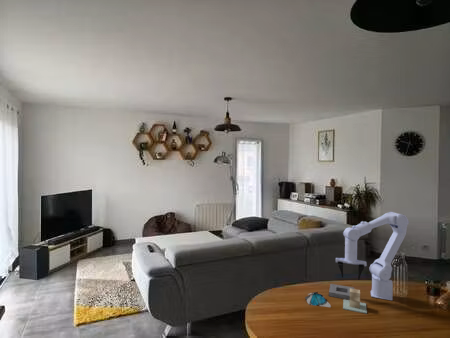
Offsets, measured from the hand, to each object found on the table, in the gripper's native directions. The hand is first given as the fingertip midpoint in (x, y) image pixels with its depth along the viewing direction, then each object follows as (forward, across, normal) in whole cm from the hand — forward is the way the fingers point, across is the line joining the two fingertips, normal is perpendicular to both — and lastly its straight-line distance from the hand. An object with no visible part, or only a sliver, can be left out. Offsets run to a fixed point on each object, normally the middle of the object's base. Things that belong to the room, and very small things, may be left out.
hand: (350, 277), depth 151 cm
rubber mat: (+9, +2, -12) cm, 15 cm away
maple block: (+9, +2, -12) cm, 15 cm away
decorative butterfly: (+10, -15, -14) cm, 23 cm away
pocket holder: (+9, -4, +1) cm, 10 cm away
